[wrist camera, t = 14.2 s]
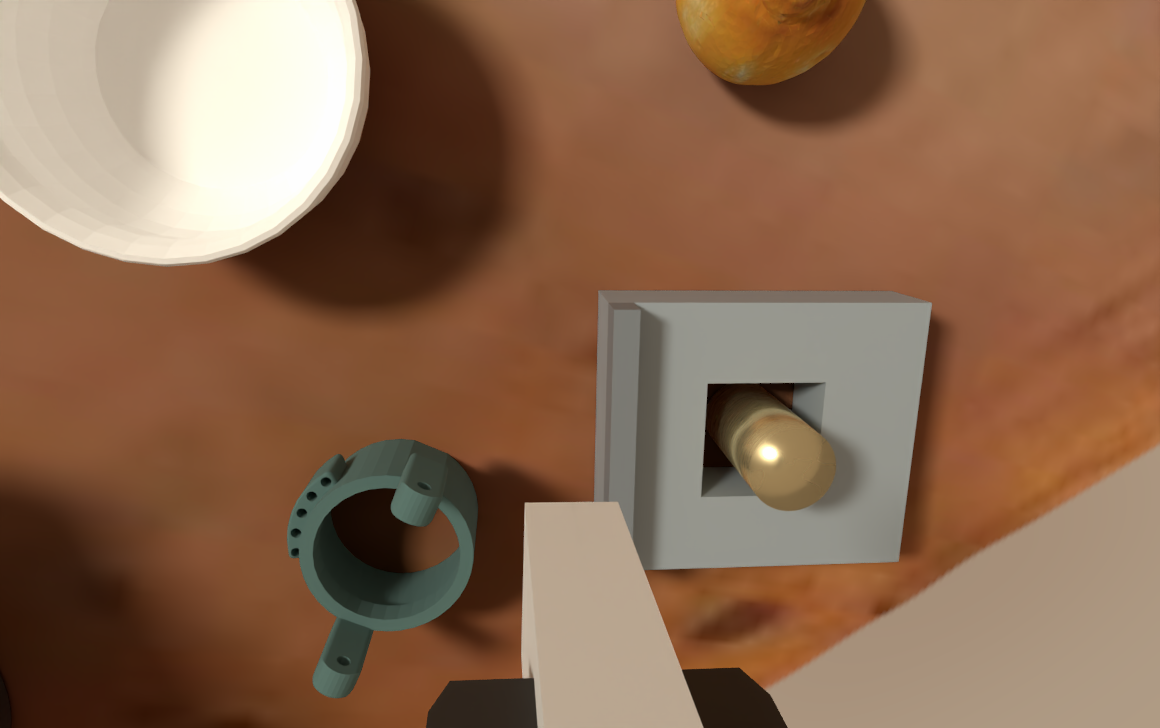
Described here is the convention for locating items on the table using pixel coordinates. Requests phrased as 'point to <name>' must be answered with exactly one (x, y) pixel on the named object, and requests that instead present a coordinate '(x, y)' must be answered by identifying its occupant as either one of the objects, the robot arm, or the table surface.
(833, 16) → the fruit
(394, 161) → the table surface
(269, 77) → the bowl
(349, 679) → the bracket
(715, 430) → the brass cylinder
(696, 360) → the jig
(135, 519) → the table surface
